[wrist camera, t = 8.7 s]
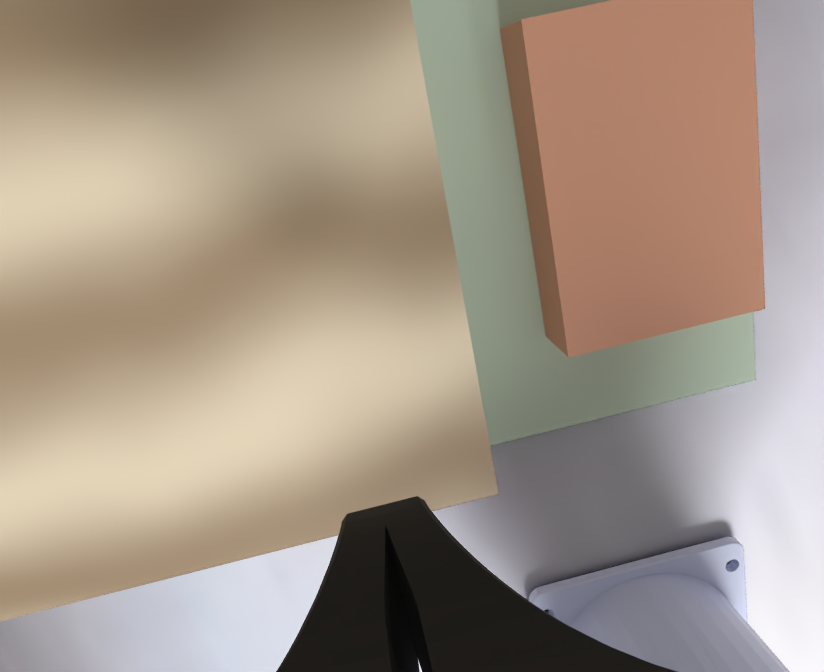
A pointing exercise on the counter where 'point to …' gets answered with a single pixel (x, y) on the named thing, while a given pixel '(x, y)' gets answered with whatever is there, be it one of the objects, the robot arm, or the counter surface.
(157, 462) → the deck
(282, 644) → the counter surface
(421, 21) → the mat
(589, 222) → the tile
